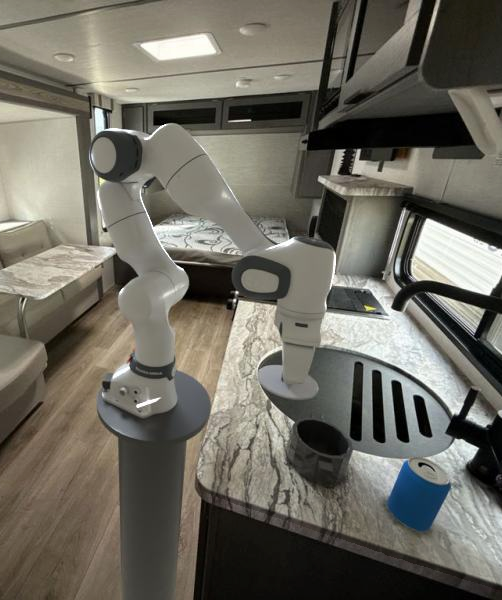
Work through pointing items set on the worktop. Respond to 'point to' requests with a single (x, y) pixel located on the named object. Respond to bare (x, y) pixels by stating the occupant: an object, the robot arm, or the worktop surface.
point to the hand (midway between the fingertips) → (287, 376)
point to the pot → (319, 450)
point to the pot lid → (286, 384)
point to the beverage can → (419, 493)
